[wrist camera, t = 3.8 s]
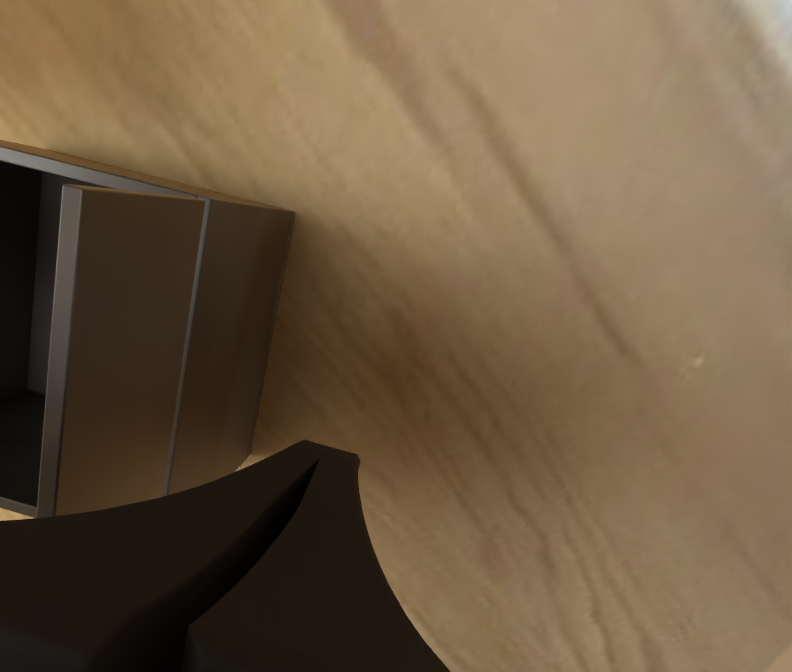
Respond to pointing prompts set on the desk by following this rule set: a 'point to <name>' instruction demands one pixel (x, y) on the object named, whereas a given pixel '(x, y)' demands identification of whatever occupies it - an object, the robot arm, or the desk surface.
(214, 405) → the carton
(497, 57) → the desk surface
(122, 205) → the flap
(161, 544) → the robot arm
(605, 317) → the desk surface
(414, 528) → the desk surface
